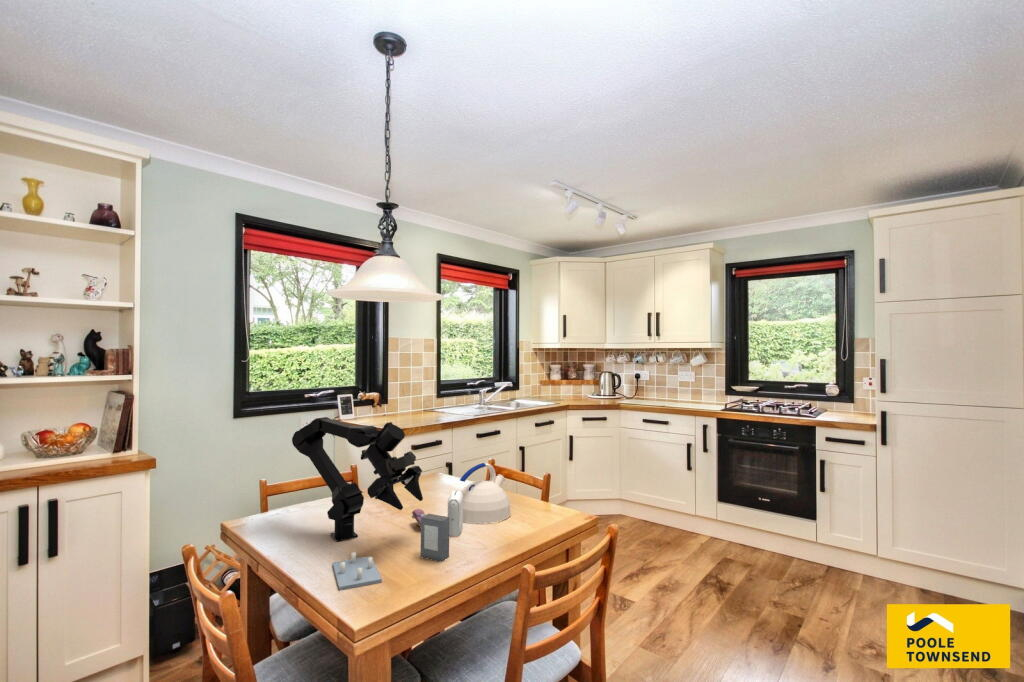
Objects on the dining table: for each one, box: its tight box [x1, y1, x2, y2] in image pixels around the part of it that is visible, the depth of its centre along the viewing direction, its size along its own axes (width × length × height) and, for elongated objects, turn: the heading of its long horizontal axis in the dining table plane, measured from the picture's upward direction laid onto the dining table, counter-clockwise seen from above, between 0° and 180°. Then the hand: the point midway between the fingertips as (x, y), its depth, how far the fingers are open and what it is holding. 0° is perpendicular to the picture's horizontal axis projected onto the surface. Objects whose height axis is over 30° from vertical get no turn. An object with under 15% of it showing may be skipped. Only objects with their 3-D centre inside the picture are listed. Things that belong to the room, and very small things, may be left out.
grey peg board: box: [332, 551, 383, 591], centre depth 124 cm, size 15×10×3 cm, turn 26°
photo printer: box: [447, 489, 464, 537], centre depth 155 cm, size 10×4×12 cm, turn 0°
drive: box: [420, 513, 450, 563], centre depth 135 cm, size 7×4×11 cm, turn 65°
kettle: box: [459, 462, 512, 525], centre depth 171 cm, size 20×21×18 cm
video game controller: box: [411, 508, 426, 529], centre depth 158 cm, size 10×5×7 cm, turn 27°
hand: (412, 504), depth 138 cm, fingers open, 9 cm apart
